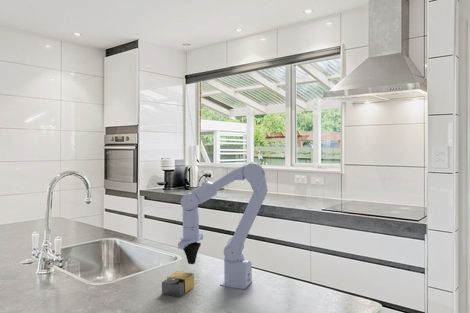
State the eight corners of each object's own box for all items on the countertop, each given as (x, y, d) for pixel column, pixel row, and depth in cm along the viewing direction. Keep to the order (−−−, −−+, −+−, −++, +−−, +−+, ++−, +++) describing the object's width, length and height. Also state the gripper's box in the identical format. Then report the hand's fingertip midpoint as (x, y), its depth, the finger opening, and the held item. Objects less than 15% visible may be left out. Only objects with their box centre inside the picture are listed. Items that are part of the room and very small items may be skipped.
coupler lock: (194, 287, 127) (194, 273, 127) (185, 293, 122) (184, 279, 122) (177, 284, 130) (176, 271, 130) (167, 290, 125) (167, 276, 125)
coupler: (193, 287, 127) (192, 273, 127) (178, 298, 118) (178, 282, 118) (175, 285, 129) (175, 271, 129) (160, 294, 121) (160, 279, 121)
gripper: (191, 221, 140) (192, 256, 141) (170, 229, 127) (171, 268, 127) (207, 222, 138) (208, 258, 138) (187, 231, 124) (188, 270, 125)
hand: (191, 263), depth 132 cm, fingers closed
